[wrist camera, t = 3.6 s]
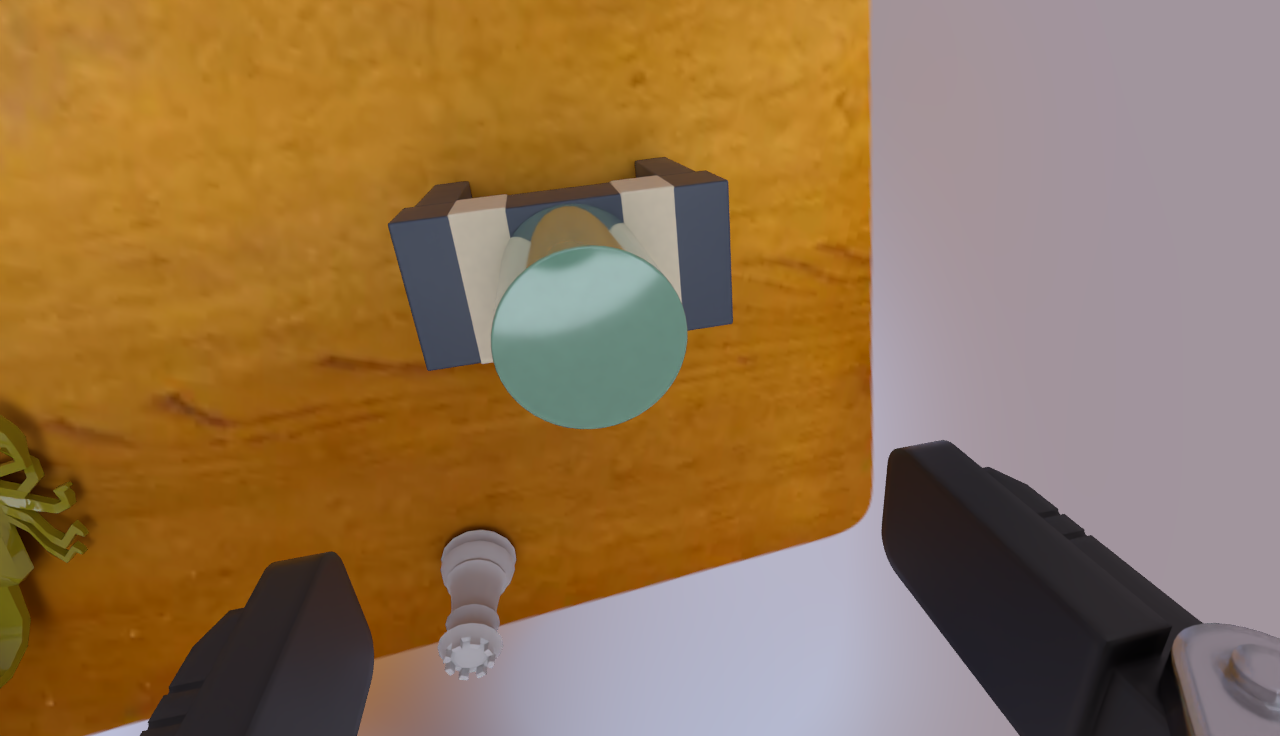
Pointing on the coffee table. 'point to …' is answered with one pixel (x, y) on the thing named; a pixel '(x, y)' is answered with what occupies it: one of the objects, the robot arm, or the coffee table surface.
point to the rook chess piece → (474, 600)
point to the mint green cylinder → (584, 320)
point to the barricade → (481, 227)
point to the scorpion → (3, 555)
